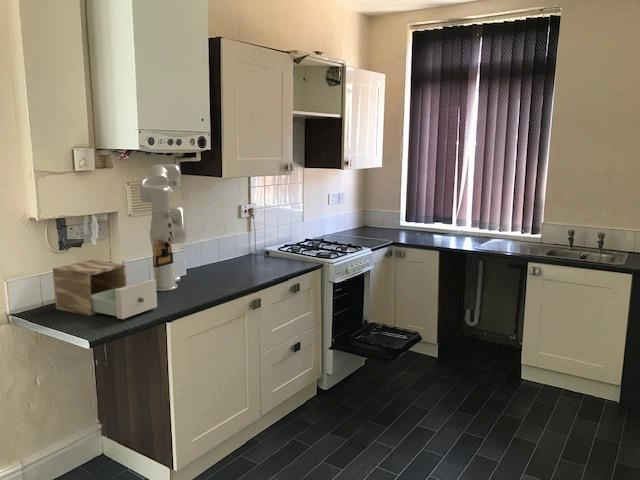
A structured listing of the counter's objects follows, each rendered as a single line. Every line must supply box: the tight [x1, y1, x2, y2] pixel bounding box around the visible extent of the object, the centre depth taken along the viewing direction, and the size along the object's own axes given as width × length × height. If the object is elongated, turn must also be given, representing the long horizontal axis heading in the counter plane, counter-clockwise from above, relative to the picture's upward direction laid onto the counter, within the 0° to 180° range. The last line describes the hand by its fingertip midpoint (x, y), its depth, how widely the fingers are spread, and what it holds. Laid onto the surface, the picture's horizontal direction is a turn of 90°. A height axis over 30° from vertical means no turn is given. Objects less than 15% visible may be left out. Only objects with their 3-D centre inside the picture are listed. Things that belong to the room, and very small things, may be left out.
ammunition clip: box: [152, 240, 174, 268], centre depth 239 cm, size 11×2×12 cm, turn 152°
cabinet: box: [52, 259, 128, 317], centre depth 238 cm, size 20×22×18 cm
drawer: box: [91, 278, 158, 320], centre depth 230 cm, size 19×24×12 cm
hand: (163, 256), depth 240 cm, fingers closed on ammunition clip, 2 cm apart
